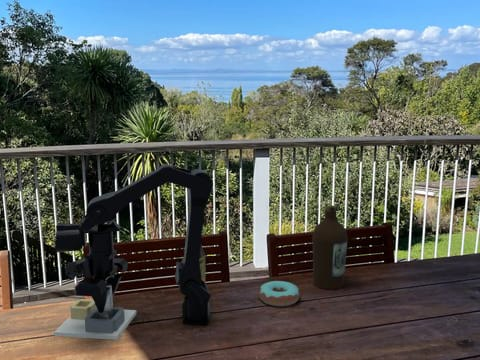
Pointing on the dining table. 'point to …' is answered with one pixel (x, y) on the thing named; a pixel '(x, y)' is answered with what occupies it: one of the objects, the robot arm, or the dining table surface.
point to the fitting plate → (94, 322)
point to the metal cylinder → (107, 307)
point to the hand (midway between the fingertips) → (104, 308)
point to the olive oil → (329, 251)
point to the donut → (279, 293)
